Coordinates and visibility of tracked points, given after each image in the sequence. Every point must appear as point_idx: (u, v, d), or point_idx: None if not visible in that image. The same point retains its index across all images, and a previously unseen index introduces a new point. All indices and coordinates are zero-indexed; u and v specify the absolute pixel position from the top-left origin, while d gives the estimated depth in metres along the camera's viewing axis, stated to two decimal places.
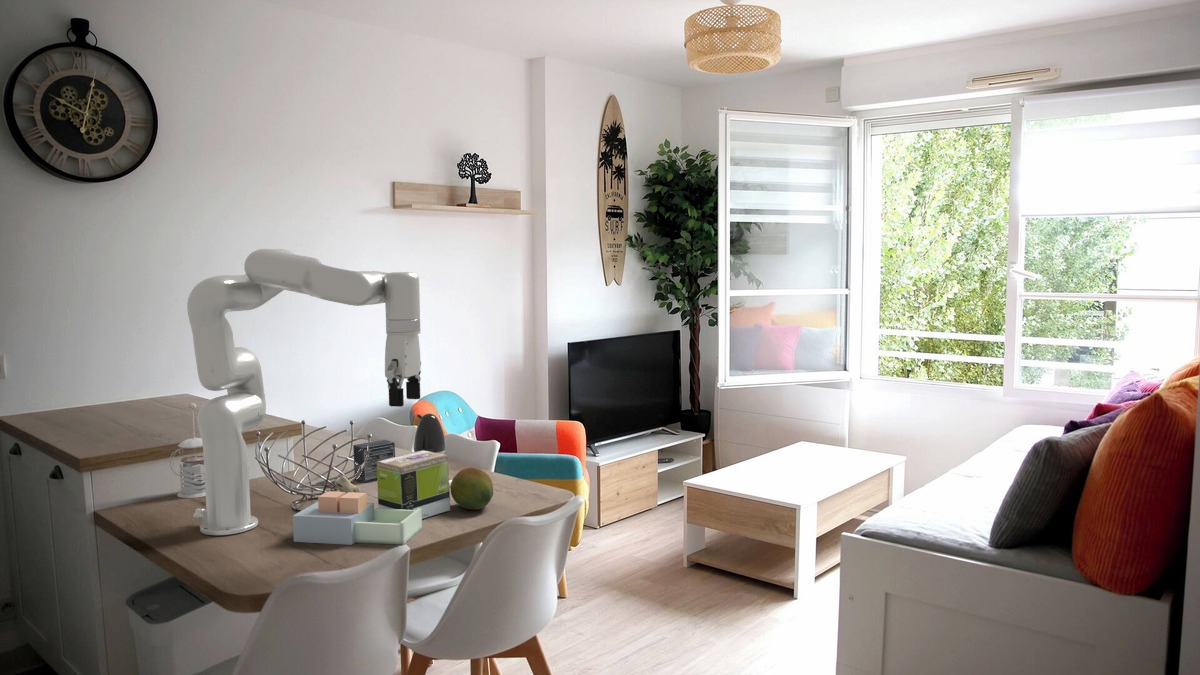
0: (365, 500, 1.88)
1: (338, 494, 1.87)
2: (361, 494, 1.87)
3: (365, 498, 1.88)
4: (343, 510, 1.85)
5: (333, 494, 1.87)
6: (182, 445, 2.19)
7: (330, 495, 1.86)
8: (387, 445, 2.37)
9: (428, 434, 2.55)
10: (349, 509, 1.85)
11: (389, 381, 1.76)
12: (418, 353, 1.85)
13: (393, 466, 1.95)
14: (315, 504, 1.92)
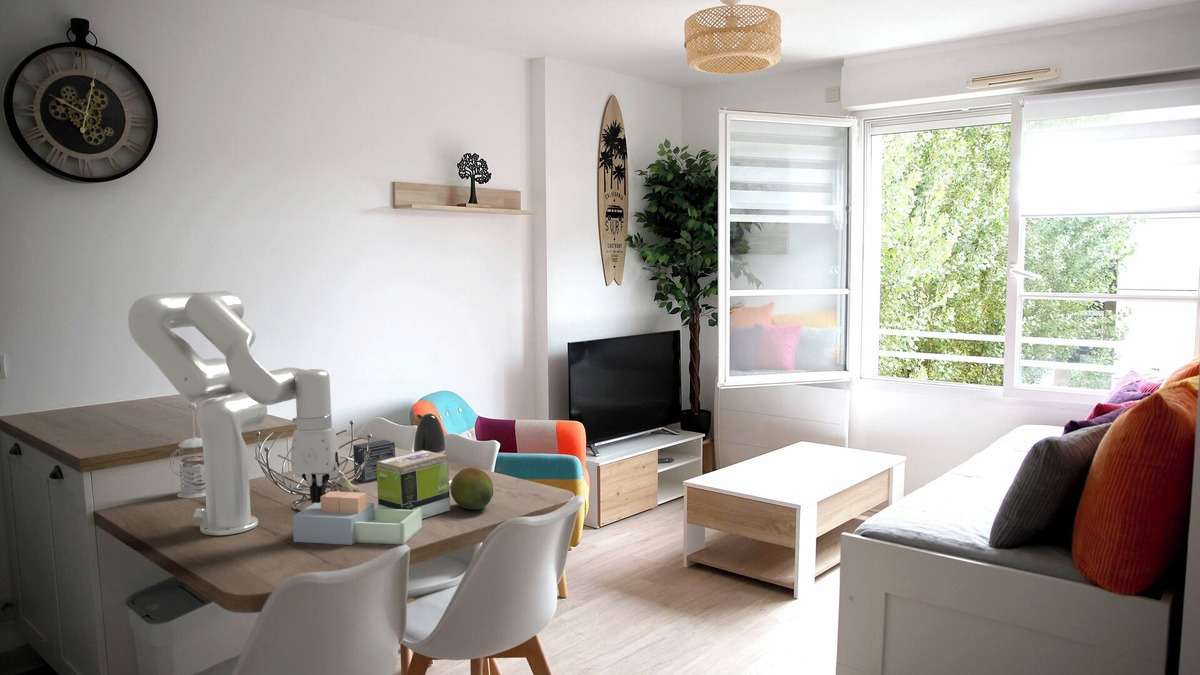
0: (365, 500, 1.88)
1: (340, 494, 1.87)
2: (361, 494, 1.87)
3: (365, 498, 1.88)
4: (343, 510, 1.85)
5: (335, 494, 1.87)
6: (182, 445, 2.19)
7: (332, 495, 1.86)
8: (387, 445, 2.37)
9: (428, 434, 2.55)
10: (349, 509, 1.85)
11: (329, 477, 1.87)
12: None
13: (392, 466, 1.95)
14: (315, 504, 1.92)
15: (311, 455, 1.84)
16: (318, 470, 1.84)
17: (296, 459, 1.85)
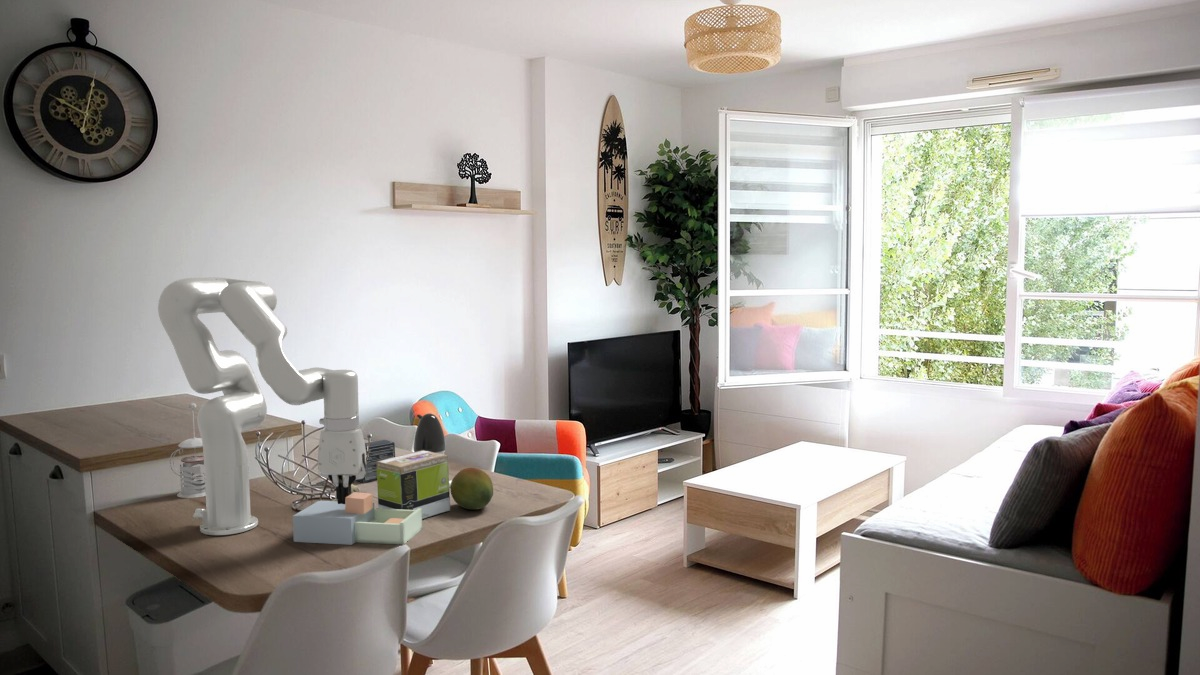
0: None
1: (365, 496, 1.86)
2: None
3: None
4: None
5: (360, 495, 1.86)
6: (182, 445, 2.19)
7: (357, 496, 1.85)
8: (387, 445, 2.37)
9: (428, 434, 2.55)
10: None
11: (356, 478, 1.86)
12: None
13: (392, 466, 1.95)
14: (315, 504, 1.92)
15: (338, 456, 1.83)
16: (345, 471, 1.83)
17: (323, 460, 1.84)
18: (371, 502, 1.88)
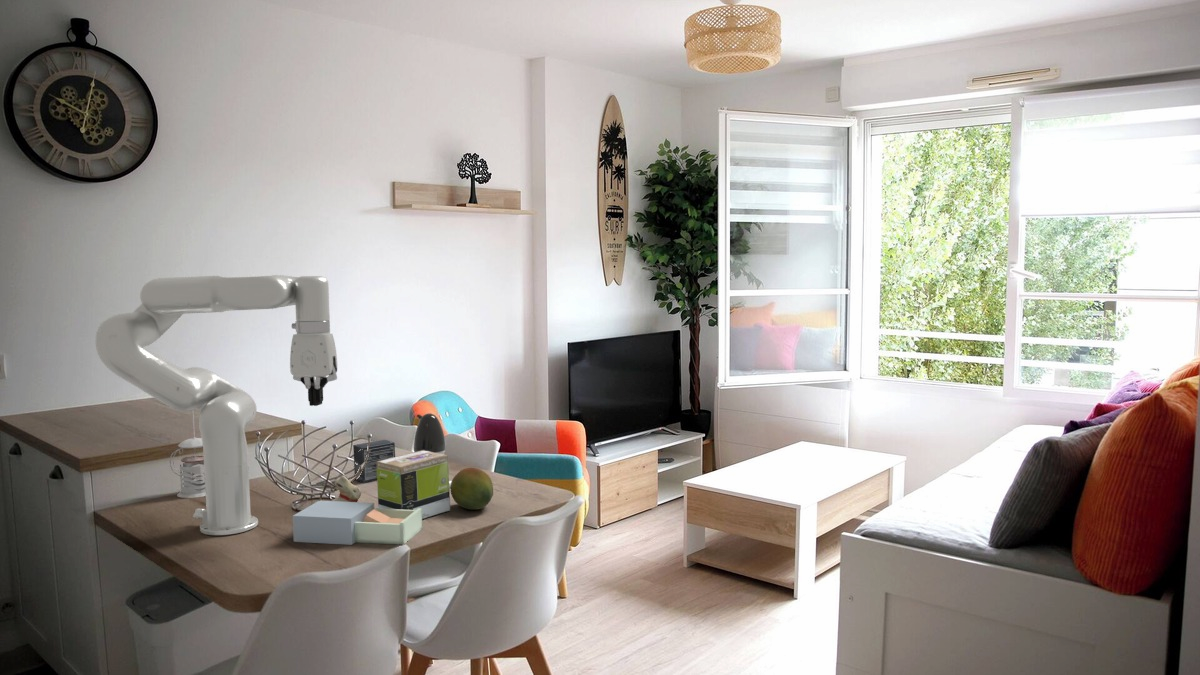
0: None
1: (384, 519, 1.86)
2: None
3: None
4: None
5: (380, 517, 1.86)
6: (182, 445, 2.19)
7: (377, 517, 1.85)
8: (387, 445, 2.37)
9: (428, 434, 2.55)
10: None
11: (327, 380, 1.92)
12: None
13: (393, 466, 1.95)
14: (315, 504, 1.92)
15: (309, 358, 1.90)
16: (316, 373, 1.90)
17: (295, 362, 1.91)
18: None
